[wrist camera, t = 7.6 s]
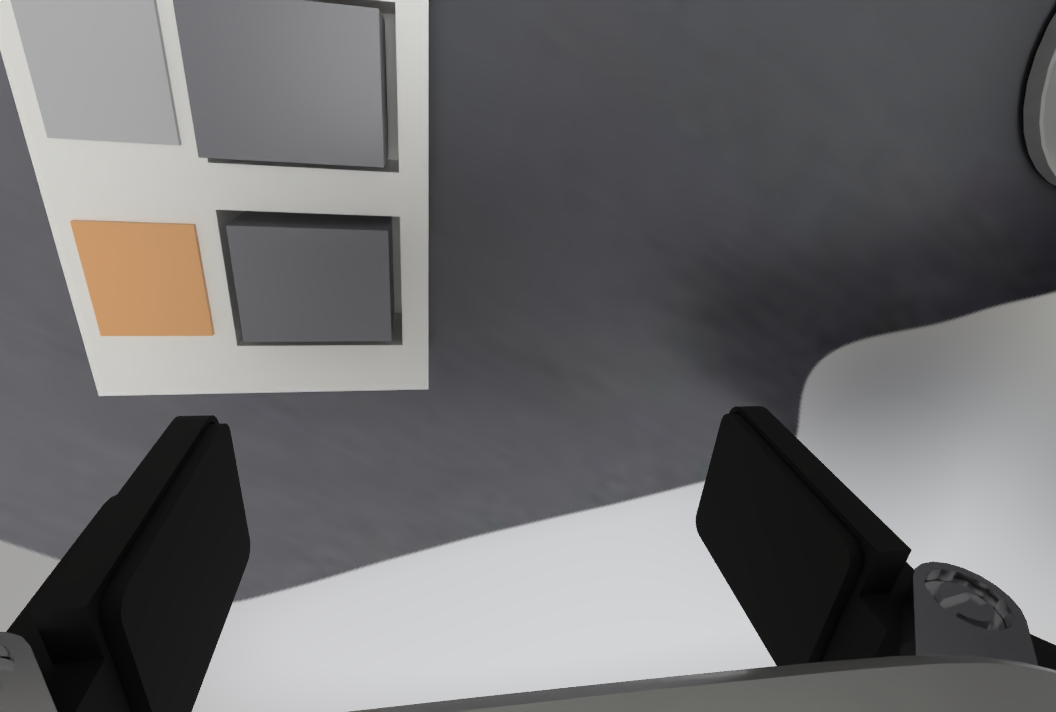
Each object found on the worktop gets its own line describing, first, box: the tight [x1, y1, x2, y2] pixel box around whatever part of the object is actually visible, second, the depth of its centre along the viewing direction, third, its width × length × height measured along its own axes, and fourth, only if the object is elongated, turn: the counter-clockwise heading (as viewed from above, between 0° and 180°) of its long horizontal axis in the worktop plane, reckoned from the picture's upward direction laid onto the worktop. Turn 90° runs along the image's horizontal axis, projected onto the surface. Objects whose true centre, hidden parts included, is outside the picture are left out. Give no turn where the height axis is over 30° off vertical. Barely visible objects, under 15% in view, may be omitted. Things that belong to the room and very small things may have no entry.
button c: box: [226, 211, 394, 342], centre depth 22 cm, size 5×4×4 cm
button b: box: [173, 0, 389, 168], centre depth 17 cm, size 5×4×4 cm
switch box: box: [0, 0, 429, 396], centre depth 19 cm, size 12×22×5 cm, turn 176°
